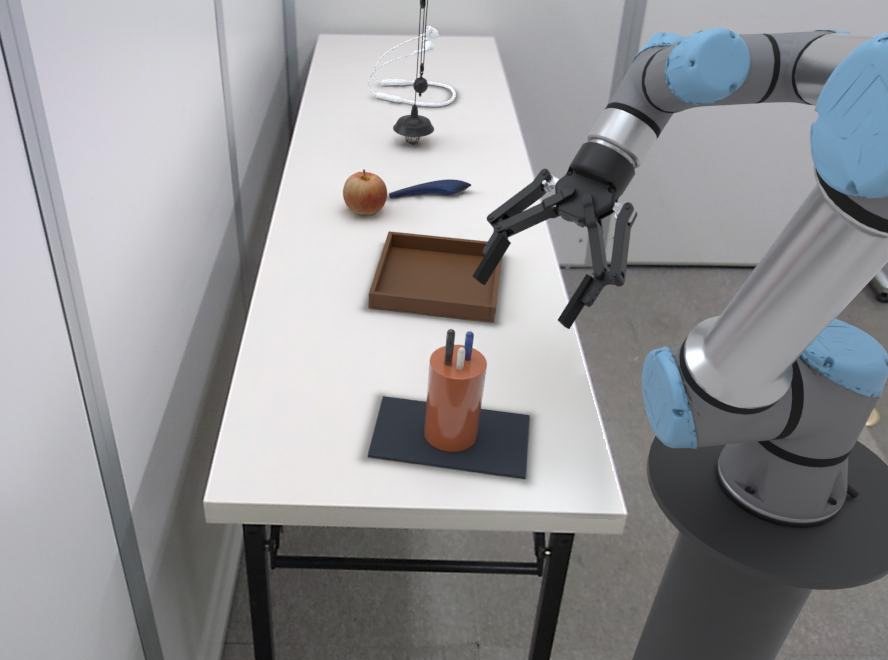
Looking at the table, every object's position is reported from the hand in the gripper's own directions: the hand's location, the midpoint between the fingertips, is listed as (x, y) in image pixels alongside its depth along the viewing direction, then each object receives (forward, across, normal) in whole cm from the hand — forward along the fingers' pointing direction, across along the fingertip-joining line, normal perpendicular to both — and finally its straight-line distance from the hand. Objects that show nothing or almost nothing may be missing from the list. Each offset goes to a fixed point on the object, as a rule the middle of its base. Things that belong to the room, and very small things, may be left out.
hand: (519, 302), depth 114 cm
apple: (-5, +52, -27) cm, 59 cm away
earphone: (-38, +84, -60) cm, 111 cm away
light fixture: (-24, +65, -46) cm, 84 cm away
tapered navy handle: (-15, +48, -37) cm, 62 cm away
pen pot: (+19, 0, -3) cm, 19 cm away
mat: (+19, 0, -3) cm, 19 cm away
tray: (0, +26, -22) cm, 34 cm away
